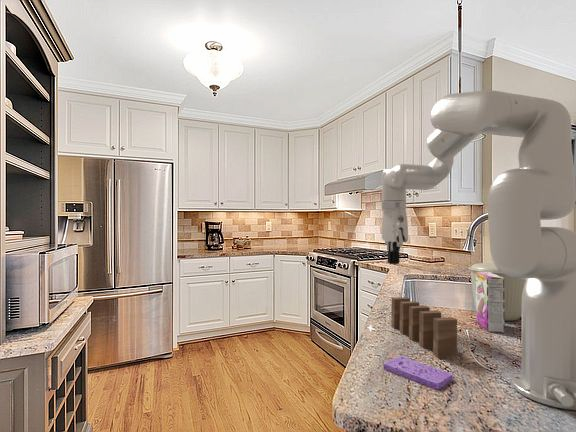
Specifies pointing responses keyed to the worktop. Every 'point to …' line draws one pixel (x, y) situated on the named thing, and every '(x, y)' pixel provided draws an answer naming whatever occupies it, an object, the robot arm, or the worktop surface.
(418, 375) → the sponges
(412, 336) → the tile
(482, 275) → the candy bar box
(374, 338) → the worktop surface
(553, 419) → the worktop surface
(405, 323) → the tile
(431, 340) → the tile
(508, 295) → the canister
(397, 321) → the tile
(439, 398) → the worktop surface
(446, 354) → the tile
